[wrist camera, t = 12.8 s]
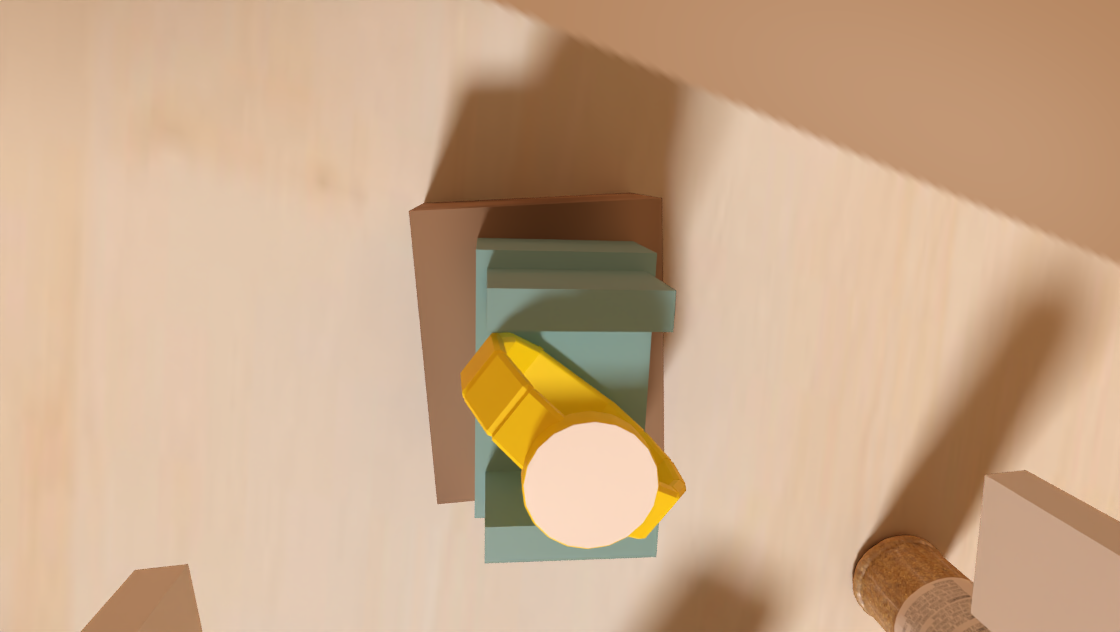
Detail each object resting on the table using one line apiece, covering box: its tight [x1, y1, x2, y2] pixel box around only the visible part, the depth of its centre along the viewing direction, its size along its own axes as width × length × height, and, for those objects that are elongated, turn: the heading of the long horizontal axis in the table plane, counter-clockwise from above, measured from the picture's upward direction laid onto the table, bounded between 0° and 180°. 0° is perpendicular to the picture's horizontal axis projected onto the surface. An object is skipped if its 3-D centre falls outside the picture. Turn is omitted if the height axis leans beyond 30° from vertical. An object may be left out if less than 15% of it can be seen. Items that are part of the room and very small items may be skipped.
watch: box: [460, 332, 686, 549], centre depth 16 cm, size 6×3×6 cm, turn 51°
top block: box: [475, 238, 676, 563], centre depth 18 cm, size 5×8×6 cm, turn 178°
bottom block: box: [409, 193, 664, 504], centre depth 24 cm, size 8×10×5 cm
